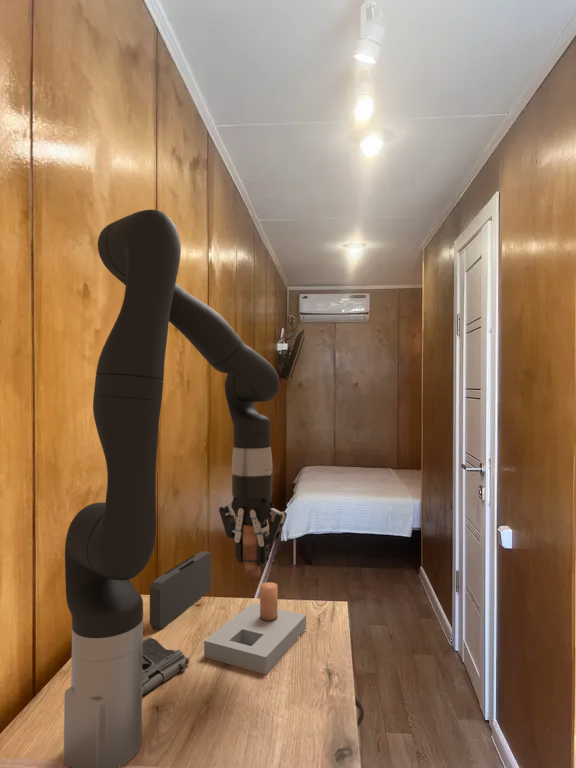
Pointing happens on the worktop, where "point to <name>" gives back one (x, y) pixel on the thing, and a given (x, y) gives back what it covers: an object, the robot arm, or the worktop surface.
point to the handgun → (159, 664)
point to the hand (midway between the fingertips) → (252, 562)
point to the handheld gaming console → (179, 589)
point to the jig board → (256, 634)
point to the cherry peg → (250, 552)
